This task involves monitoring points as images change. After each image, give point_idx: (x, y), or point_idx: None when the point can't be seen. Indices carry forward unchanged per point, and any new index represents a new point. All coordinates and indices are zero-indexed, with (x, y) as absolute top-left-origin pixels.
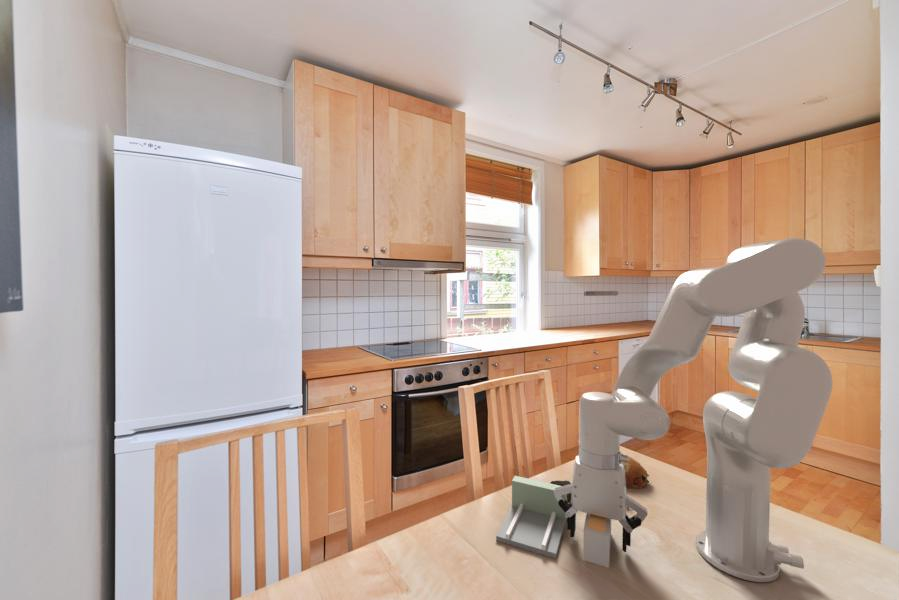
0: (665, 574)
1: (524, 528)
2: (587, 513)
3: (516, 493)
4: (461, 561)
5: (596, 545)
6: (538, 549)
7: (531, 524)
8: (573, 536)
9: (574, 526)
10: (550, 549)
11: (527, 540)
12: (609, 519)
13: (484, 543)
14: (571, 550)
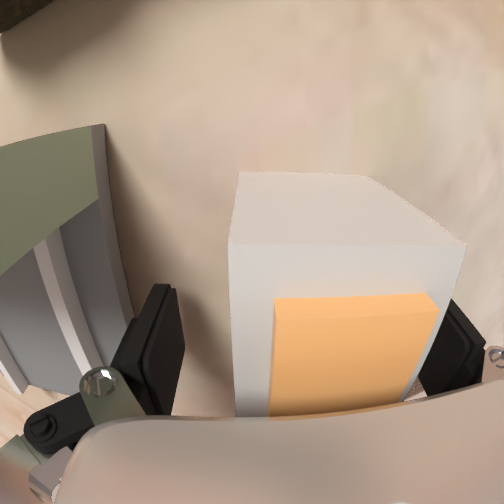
0: (484, 321)
1: (17, 332)
2: (243, 408)
3: None
4: (22, 418)
5: None
6: None
7: (16, 304)
8: (183, 352)
9: (173, 359)
10: None
11: (59, 380)
12: (399, 399)
13: (4, 377)
14: (191, 354)
